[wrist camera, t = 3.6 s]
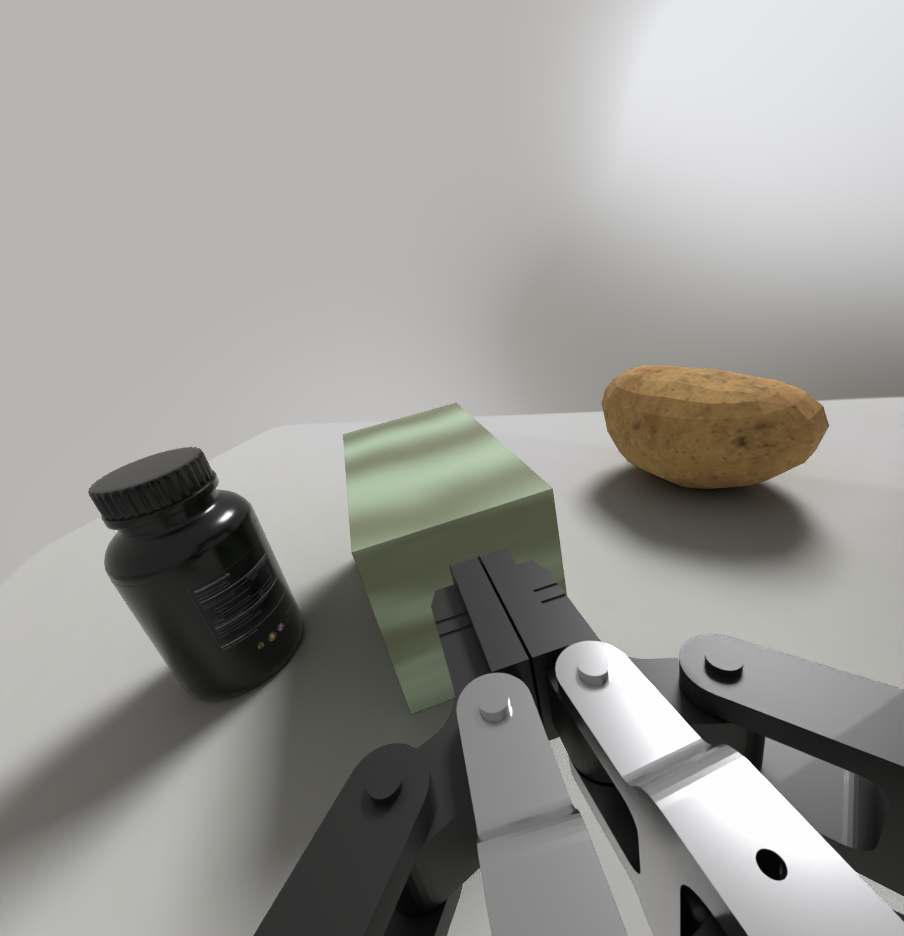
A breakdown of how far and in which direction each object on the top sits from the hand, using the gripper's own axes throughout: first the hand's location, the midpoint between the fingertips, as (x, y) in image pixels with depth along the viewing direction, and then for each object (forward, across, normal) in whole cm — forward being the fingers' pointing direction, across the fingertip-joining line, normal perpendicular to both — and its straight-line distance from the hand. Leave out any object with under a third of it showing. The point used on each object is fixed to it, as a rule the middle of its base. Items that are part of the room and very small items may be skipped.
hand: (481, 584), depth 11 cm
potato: (+16, -20, +10) cm, 27 cm away
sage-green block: (+13, 0, +10) cm, 16 cm away
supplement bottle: (+13, +12, +10) cm, 20 cm away
